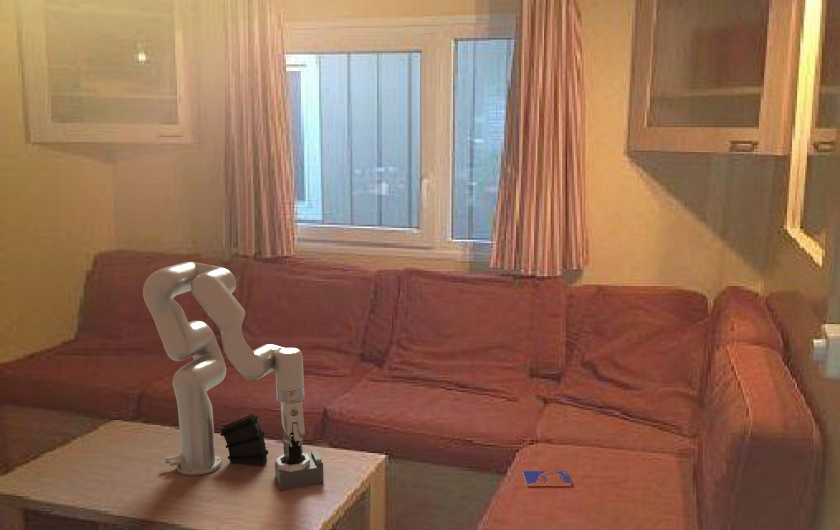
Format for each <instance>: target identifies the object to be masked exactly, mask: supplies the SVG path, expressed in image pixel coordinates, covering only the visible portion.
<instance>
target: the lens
mask: <svg viewBox="0 0 840 530" xmlns="http://www.w3.org/2000/svg"><path fill="white" fill-rule="evenodd" d="M291 435H293V433H291ZM299 437H300V445H301V459H296V460H290V459H289V446H290V443H289V437H288V436H287V435H286V433H285V431H284V432H283V434H282V442H283V443H282V444H283V454H284V462H285V463H286V464H289V465H293V464H299V463H301V462H302V461H303V453H304V451H303V450H304V449H303V435H301V434H300V432H299ZM293 439H294V437H293V438H292V440H293Z"/></svg>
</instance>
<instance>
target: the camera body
mask: <svg viewBox="0 0 840 530" xmlns="http://www.w3.org/2000/svg"><path fill="white" fill-rule="evenodd" d="M310 453H311V454H308V453H304V452H303V461H302V462H301V463H299V464H293V465H289V464H286V463H285V462H284V453H283V454H281V455H280V456H279V457H277V458H276V459H274V476H275V479H276V482H277V484H278V487H279V490H280V491H286V490H287V491H288V490H291V489H297V488H303V487H310V485H311V486H316V485H315V484H317V485H321V483H322V484H324V481H325V480H324V479H325V478H324V462H323V459H322V457H320V455H319V453H318V450H317V449H312V450H310Z"/></svg>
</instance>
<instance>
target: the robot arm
mask: <svg viewBox="0 0 840 530" xmlns="http://www.w3.org/2000/svg"><path fill="white" fill-rule="evenodd" d="M236 288H237V279H236V277H235V275H234V274H233V273H232V272H231V271H230V270H229V269H226V268H224V267H222V266H217V265H211V264H207V263H206V264H205V263H201V262H194V261H186V262H181V263H177V264H174V265H169V266H166V267H162V268H160V269H157V270H156V271H154V272H152V273H151V274H150V275H149V276H147V278H146V280H145V282H144V285H143V287H142V296H143V297H142V298H143V300H144V303H145V306H146V307H147V309H148V311H149V313H150V315H151V317H152V319H153V321H154V324H155V327H156V330H157V332H158V335H159V337H160V340H161V342H162V345H163V348H164V350H165V353H166V354H167V357H168V358H169V359H170V360H172V361H175V362H182V361H184V360H187V359H189V358H191V357H192V358H193V360H192V361H190V362H188V363H185V364H183V366H181V367H179V369H177V370H176V372H174V375H173V378H172V387H173V391H174V395H175V399H176V404H177V413H178V414H177V415H178V426H179V441H180V450H179V453H178V454H176V455H174V456H173V455H172V456H171V455H170V456H165V457H164V460H165V461H164V462H165V465H167V464H169V466H176V471H177V473H179V474H181V475H185V476H202V475H206V474H207V475H208V474H209V473H213V472H214V471H216V470H218V468H220V467H221V465H222V459H221V457H220V456H219V455H216V446H215V445H216V442H215V432H214V431H215V430H214V414H213V412H214V411H213V405H212V402H211V400H210V398H209V395H208V391H209V390H211V389H213V388H214V387H215V386H217V385H219V384H221V382H223V381H224V379H225V378H226V374H227V366H226V362H225V359H224V357H223V354H222V351H221V349H220V346H219V343H218V340H217V338H216V336H215V334H214V332H213V330H212V328H211V327H210V325H208V324H207V323H205V322H204V321H202V320H201V321H200V320H191V321H188V318H187V317H186V313H185V311H184V309H183V308H182V306H181V305H180V303H178V301H176V299H175V297H177V296H178V295H182V294H185V293H188V292H190V291H191V293H192V296H193V297H194V299H195V300H196V301H197V302H198V304H199V305H200V306H201V307H202V308H203V310H204V311H205V312H206V313H207V314H206V315H208V316H209V317H210V318H211V320H212V322H214V324H215V325H216V326H217V328H218V329H219V331H220V338H221V344H222V347H223V350H224V354H225V355H226V357H227V359H228V360H229V362H230V363H231V364H232V366H233V367H234V368H235V369H236V371H237V372H238V373H239V374H240V375H241V376H242V377H243V378H246V380H249V381H257V380H260V379H262V378H263V377H265V376H266V375H268V374H271V373H273V372H274V373H275V389H276V401H277V402H280V412H281V413H280V415H281V425H282V428H283V430H284V432H285V433H286V435H287V436H288V437H289V443H290V446H289V459H290V460H296V459H301V445H300V437H299V432H300V434H301V435H302V436H304V435H305V432H306V431H305V430H306V429H305V420H304V417H305V416H304V409H303V402H302V400H304V399H305V385H304V383H305V381H304V379H305V378H304V361H303V359H304V357H303V353H302V350H300V349H299V348H297V347H283V346H279V345H276V344H272V343H267V344H263V345H262V346H259V347H257V348H255V349H252V348H251V347H250V346H249V344H248V343H247V341H246V339H245V338H244V336H243V331H242V330H243V329H242V328H243V327H242V326H243V323H244V320H245V317H246V310H245V309H244V307H243V306H242V304H241V303H239V301H238V300H237V299H236V297H235V296H234V295H233V293H234V292H235V290H236ZM291 433H293V435H291ZM293 437H294V439H293V440H292V438H293Z"/></svg>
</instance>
